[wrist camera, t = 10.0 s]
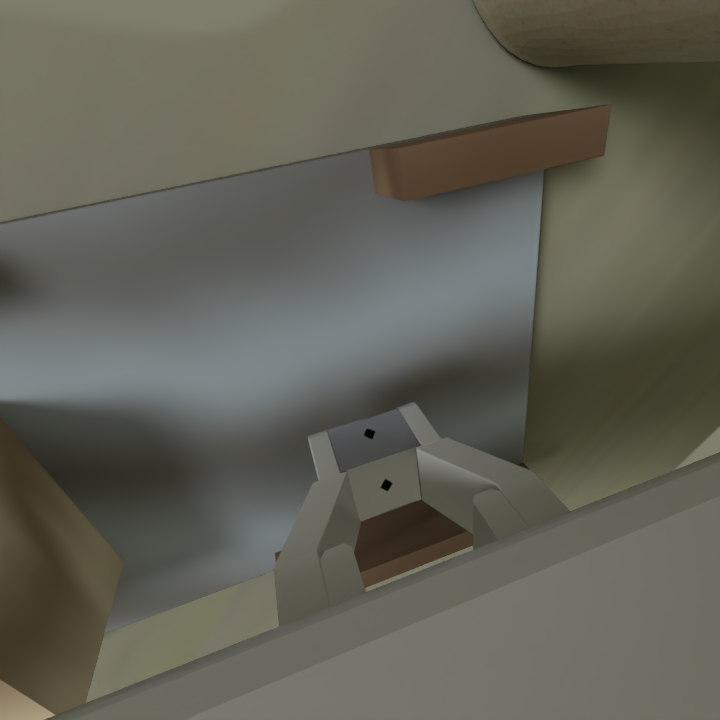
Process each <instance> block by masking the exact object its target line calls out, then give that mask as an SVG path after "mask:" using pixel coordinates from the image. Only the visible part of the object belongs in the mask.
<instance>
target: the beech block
mask: <svg viewBox="0 0 720 720" xmlns="http://www.w3.org/2000/svg"><path fill="white" fill-rule="evenodd" d="M123 563H124V562H123V561H122V560H121V558H120V557H119V556H118V555H117V554H116V552H115V551H114V550H113V549H112V548H111V547H110V545H109V544H108V543H107V542H106V541H105V540H104V538H103V537H102V536H101V535H100V534H99V532H98V531H97V530H96V529H95V528H94V527H93V525H92V524H91V523H90V522H89V521H88V520H87V518H86V517H85V516H84V515H83V514H82V512H81V511H80V510H79V509H78V508H77V507H76V505H75V504H74V503H73V502H72V501H71V499H70V498H69V497H68V496H67V495H66V494H65V492H64V491H63V490H62V489H61V488H60V487H59V485H58V484H57V483H56V482H55V481H54V479H53V478H52V477H51V476H50V475H49V474H48V472H47V471H46V470H45V469H44V468H43V466H42V465H41V464H40V463H39V462H38V461H37V459H36V458H35V457H34V456H33V455H32V454H31V452H30V451H29V450H28V449H27V448H26V446H25V445H24V444H23V443H22V442H21V441H20V439H19V438H18V437H17V436H16V435H15V433H14V432H13V431H12V430H11V429H10V428H9V426H8V425H7V424H6V423H5V422H4V421H3V419H2V418H1V417H0V720H44V719H47V718H49V717H52V716H55V715H57V714H60V713H62V712H65V711H67V710H70V709H72V708H75V707H77V706H80V705H82V704H85V703H86V699H87V695H88V692H89V688H90V684H91V681H92V677H93V673H94V670H95V666H96V662H97V659H98V655H99V651H100V648H101V644H102V640H103V637H104V633H105V629H106V625H107V622H108V618H109V614H110V611H111V607H112V603H113V600H114V596H115V592H116V589H117V585H118V581H119V578H120V574H121V570H122V567H123Z"/></svg>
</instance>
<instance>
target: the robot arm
mask: <svg viewBox="0 0 720 720" xmlns="http://www.w3.org/2000/svg"><path fill="white" fill-rule="evenodd" d="M308 441H309V445H310V449H311V453H312V457H313V461H314V465H315V469H316V473H317V476H318V480H319V481H317V482H314V483H313V484H312V486H311V488H310V491H309V493H308V495H307V497H306V499H305V501H304V503H303V506H302V508H301V510H300V512H299V514H298V516H297V518H296V521H295V523H294V525H293V527H292V529H291V531H290V534H289V536H288V538H287V540H286V542H285V544H284V546H283V549H282V551H281V553H280V555H279V557H278V559H277V561H276V564H275V566H274V576H275V587H276V598H277V609H278V621H279V627H277V628H275V629H272V630H270V631H267V632H264V633H262V634H259V635H257V636H254V637H252V638H249V639H247V640H244V641H242V642H239V643H237V644H234V645H232V646H229V647H227V648H224V649H221V650H219V651H216V652H214V653H211V654H209V655H206V656H204V657H201V658H199V659H196V660H194V661H191V662H189V663H186V664H184V665H181V666H178V667H176V668H173V669H171V670H168V671H166V672H163V673H161V674H158V675H156V676H153V677H151V678H148V679H146V680H143V681H141V682H138V683H135V684H133V685H130V686H128V687H125V688H123V689H120V690H118V691H115V692H113V693H110V694H108V695H105V696H103V697H100V698H98V699H95V700H92V701H90V702H87V703H85V704H82V705H80V706H77V707H75V708H72V709H70V710H67V711H65V712H62V713H60V714H57V715H55V716H52V717H49V718H47V719H44V720H720V453H717V454H714V455H712V456H709V457H707V458H704V459H702V460H699V461H697V462H694V463H692V464H689V465H687V466H684V467H682V468H679V469H677V470H674V471H671V472H669V473H666V474H664V475H661V476H659V477H656V478H654V479H651V480H649V481H646V482H644V483H641V484H639V485H636V486H633V487H631V488H628V489H626V490H623V491H621V492H618V493H616V494H613V495H611V496H608V497H606V498H603V499H601V500H598V501H596V502H593V503H590V504H588V505H585V506H583V507H580V508H578V509H575V510H573V511H569V510H568V509H567V507H566V506H565V505H564V504H563V503H562V502H561V501H560V500H559V499H558V498H557V497H556V496H555V494H554V493H553V492H552V491H551V490H550V489H549V488H548V487H547V486H546V485H545V484H544V482H543V481H542V480H541V479H540V478H539V477H538V476H537V475H536V474H535V473H534V472H533V471H530V470H528V469H525V468H523V467H520V466H518V465H515V464H513V463H510V462H508V461H505V460H503V459H500V458H498V457H495V456H493V455H490V454H488V453H485V452H483V451H480V450H478V449H475V448H473V447H470V446H468V445H465V444H463V443H460V442H458V441H455V440H453V439H450V438H447V437H446V438H443V439H441V437H440V436H439V434H438V433H437V432H436V430H435V429H434V427H433V426H432V425H431V423H430V422H429V421H428V419H427V418H426V416H425V415H424V414H423V412H422V411H421V409H420V408H419V407H418V405H417V404H416V403H414V402H412V403H409V404H406V405H403V406H400V407H397V408H396V409H392V410H389V411H386V412H383V413H380V414H377V415H374V416H371V417H368V418H365V419H362V420H358V421H355V422H352V423H348V424H345V425H341V426H338V427H335V428H331V429H328V430H327V431H322V432H319V433H316V434H312V435H309V436H308ZM420 499H422V501H424V502H425V503H427V504H428V505H430V506H431V507H433V508H434V509H436V510H437V511H439V512H440V513H442V514H443V515H445V516H446V517H448V518H449V519H451V520H452V521H454V522H455V523H457V524H458V525H460V526H461V527H463V528H464V529H466V530H467V531H469V532H470V533H472V534H473V550H472V551H470V552H467V553H465V554H462V555H459V556H457V557H454V558H452V559H449V560H447V561H444V562H442V563H439V564H437V565H434V566H432V567H429V568H426V569H424V570H421V571H419V572H416V573H414V574H411V575H409V576H406V577H404V578H401V579H399V580H396V581H394V582H391V583H388V584H386V585H383V586H381V587H378V588H376V589H373V590H371V591H368V592H366V590H365V587H364V584H363V581H362V577H361V574H360V571H359V568H358V564H357V561H356V558H355V555H354V550H355V546H356V541H357V537H358V533H359V529H360V525H361V522H360V521H362V520H365V519H367V518H370V517H372V516H375V515H377V514H380V513H383V512H385V511H388V510H390V509H393V508H396V507H399V506H402V505H405V504H408V503H411V502H414V501H417V500H420Z"/></svg>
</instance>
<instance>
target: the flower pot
mask: <svg viewBox="0 0 720 720" xmlns="http://www.w3.org/2000/svg"><path fill="white" fill-rule="evenodd" d="M473 2H474V5H475V7H476V9H477V11H478V13H479V14H480V16H481V18H482V20H483V21H484V23H485V25H486V26H487V28H488V29H489V31H490V32H491V33H492V34H493V36H494V37H495V38H496V39H497V40H498V42H499V43H500V44H501V45H502V46H503V47H504V48H506V49H507V50H508V51H509V52H511V53H512V54H514V55H515V56H517V57H518V58H520V59H522V60H524V61H527V62H529V63H532V64H535V65H538V66H545V67H566V66H574V65H600V64H636V63H689V62H720V0H473Z"/></svg>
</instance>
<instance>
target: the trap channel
mask: <svg viewBox="0 0 720 720" xmlns="http://www.w3.org/2000/svg"><path fill="white" fill-rule="evenodd" d="M610 110H611V105H603V106H596V107H588V108H580V109H572V110H564V111H556V112H549V113H541V114H533V115H525V116H520V117H515V118H510V119H505V120H500V121H495V122H490V123H485V124H481V125H476V126H471V127H466V128H461V129H456V130H451V131H446V132H441V133H436V134H431V135H427V136H422V137H417V138H412V139H407V140H402V141H397V142H392V143H387V144H382V145H377V146H373V147H368V148H363V149H358V150H353V151H348V152H343V153H338V154H333V155H328V156H323V157H319V158H314V159H309V160H304V161H299V162H294V163H289V164H284V165H279V166H274V167H269V168H265V169H260V170H255V171H250V172H245V173H240V174H235V175H230V176H225V177H220V178H215V179H211V180H206V181H201V182H196V183H191V184H186V185H181V186H176V187H171V188H166V189H161V190H157V191H152V192H147V193H142V194H137V195H132V196H127V197H122V198H117V199H112V200H107V201H103V202H98V203H93V204H88V205H83V206H78V207H73V208H68V209H63V210H58V211H53V212H49V213H44V214H39V215H34V216H29V217H24V218H19V219H14V220H9V221H4V222H0V417H1V418H2V419H3V421H4V422H5V423H6V424H7V425H8V426H9V428H10V429H11V430H12V431H13V432H14V433H15V435H16V436H17V437H18V438H19V439H20V441H21V442H22V443H23V444H24V445H25V446H26V448H27V449H28V450H29V451H30V452H31V454H32V455H33V456H34V457H35V458H36V459H37V461H38V462H39V463H40V464H41V465H42V466H43V468H44V469H45V470H46V471H47V472H48V474H49V475H50V476H51V477H52V478H53V479H54V481H55V482H56V483H57V484H58V485H59V487H60V488H61V489H62V490H63V491H64V492H65V494H66V495H67V496H68V497H69V498H70V499H71V501H72V502H73V503H74V504H75V505H76V507H77V508H78V509H79V510H80V511H81V512H82V514H83V515H84V516H85V517H86V518H87V520H88V521H89V522H90V523H91V524H92V525H93V527H94V528H95V529H96V530H97V531H98V532H99V534H100V535H101V536H102V537H103V538H104V540H105V541H106V542H107V543H108V544H109V545H110V547H111V548H112V549H113V550H114V551H115V552H116V554H117V555H118V556H119V557H120V558H121V560H122V561H123V562H124V563H123V567H122V570H121V574H120V578H119V581H118V585H117V589H116V592H115V596H114V600H113V603H112V607H111V611H110V614H109V618H108V622H107V625H106V629H105V633H108V632H110V631H113V630H116V629H118V628H121V627H124V626H126V625H129V624H132V623H134V622H137V621H140V620H142V619H145V618H148V617H150V616H153V615H156V614H159V613H161V612H164V611H167V610H169V609H172V608H175V607H177V606H180V605H183V604H185V603H188V602H191V601H193V600H196V599H199V598H202V597H204V596H207V595H210V594H212V593H215V592H218V591H220V590H223V589H226V588H228V587H231V586H234V585H236V584H239V583H242V582H244V581H247V580H250V579H253V578H255V577H258V576H261V575H263V574H266V573H269V572H271V571H274V566H275V564H276V561H277V559H278V557H279V555H280V553H281V551H282V549H283V546H284V544H285V542H286V540H287V538H288V536H289V534H290V531H291V529H292V527H293V525H294V523H295V521H296V518H297V516H298V514H299V512H300V510H301V508H302V506H303V503H304V501H305V499H306V497H307V495H308V493H309V491H310V488H311V486H312V484H313V483H314V482H317V481H319V480H318V476H317V473H316V469H315V465H314V461H313V457H312V453H311V449H310V445H309V441H308V436H309V435H312V434H316V433H319V432H322V431H327V430H328V429H331V428H335V427H338V426H341V425H345V424H348V423H352V422H355V421H358V420H362V419H365V418H368V417H371V416H374V415H377V414H380V413H383V412H386V411H389V410H392V409H396V408H397V407H400V406H403V405H406V404H409V403H412V402H414V403H416V404H417V405H418V407H419V408H420V409H421V411H422V412H423V414H424V415H425V416H426V418H427V419H428V421H429V422H430V423H431V425H432V426H433V427H434V429H435V430H436V432H437V433H438V434H439V436H440V437H441V439H443V438H446V437H447V438H450V439H453V440H455V441H458V442H460V443H463V444H465V445H468V446H470V447H473V448H475V449H478V450H480V451H483V452H485V453H488V454H490V455H493V456H495V457H498V458H500V459H503V460H505V461H508V462H510V463H513V464H515V465H518V466H520V467H523V468H525V469H528V467H527V466H526V465H525V464H524V463H523V454H524V440H525V427H526V413H527V399H528V385H529V372H530V358H531V344H532V330H533V317H534V303H535V289H536V275H537V262H538V248H539V234H540V220H541V207H542V193H543V179H544V169H547V168H552V167H556V166H560V165H565V164H569V163H573V162H578V161H582V160H586V159H591V158H595V157H599V156H604V152H605V145H606V138H607V131H608V124H609V117H610ZM528 470H529V469H528ZM360 522H361V525H360V529H359V533H358V537H357V541H356V546H355V550H354V555H355V558H356V561H357V564H358V568H359V571H360V574H361V577H362V581H363V584H364V587H365V588H366V587H368V586H371V585H373V584H376V583H379V582H381V581H384V580H386V579H389V578H391V577H394V576H396V575H399V574H401V573H404V572H406V571H409V570H411V569H414V568H417V567H419V566H422V565H424V564H427V563H429V562H432V561H434V560H437V559H439V558H442V557H444V556H447V555H449V554H452V553H455V552H457V551H460V550H462V549H465V548H467V547H470V546H472V545H473V534H472V533H470V532H469V531H467V530H466V529H464V528H463V527H461V526H460V525H458V524H457V523H455V522H454V521H452V520H451V519H449V518H448V517H446V516H445V515H443V514H442V513H440V512H439V511H437V510H436V509H434V508H433V507H431V506H430V505H428V504H427V503H425V502H424V501H422V499H420V500H417V501H414V502H411V503H408V504H405V505H402V506H399V507H396V508H393V509H390V510H388V511H385V512H383V513H380V514H377V515H375V516H372V517H370V518H367V519H365V520H362V521H360ZM105 633H104V634H105Z"/></svg>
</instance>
